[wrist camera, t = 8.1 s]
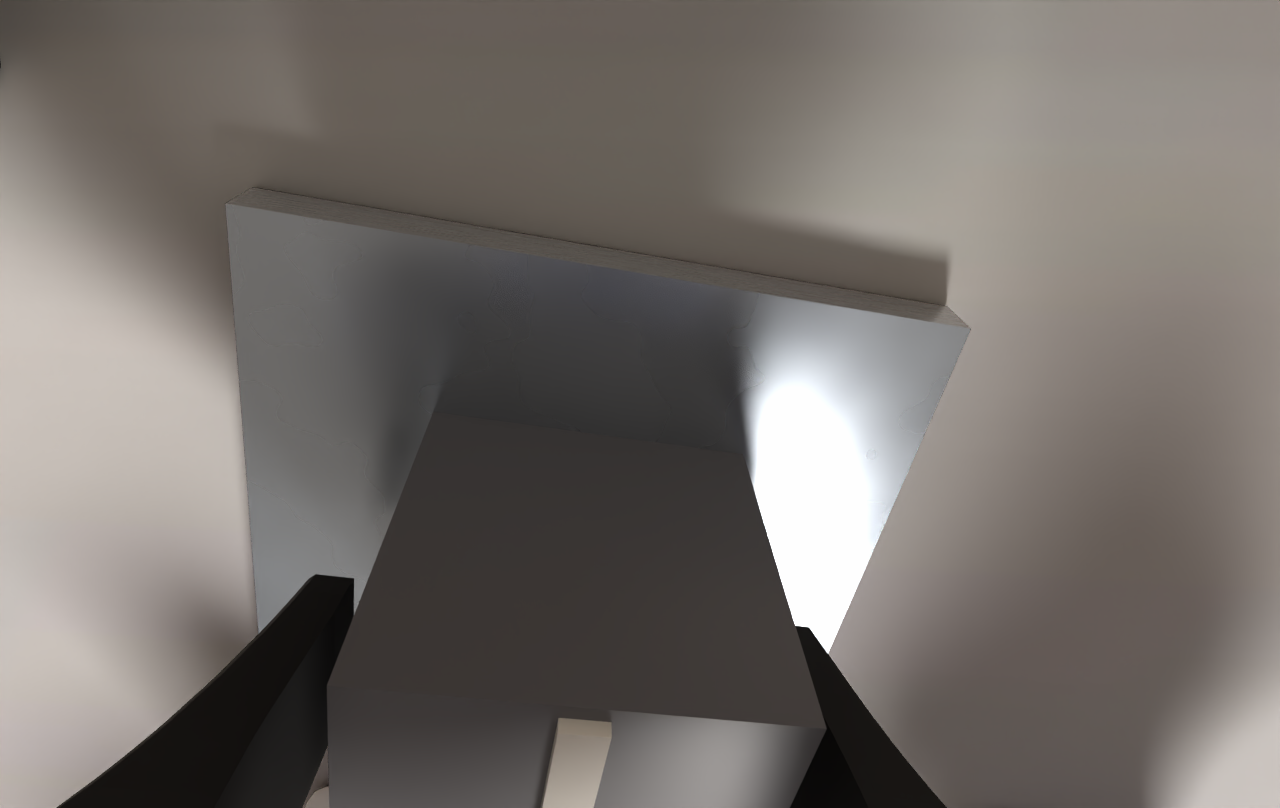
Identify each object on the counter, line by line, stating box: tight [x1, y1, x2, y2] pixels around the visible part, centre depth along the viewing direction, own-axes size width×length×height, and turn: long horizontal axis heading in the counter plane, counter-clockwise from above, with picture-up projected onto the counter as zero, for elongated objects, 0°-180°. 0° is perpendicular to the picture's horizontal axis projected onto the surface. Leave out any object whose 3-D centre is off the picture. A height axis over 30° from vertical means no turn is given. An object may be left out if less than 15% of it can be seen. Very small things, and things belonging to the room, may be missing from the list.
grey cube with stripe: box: [327, 412, 827, 808], centre depth 12 cm, size 6×6×6 cm
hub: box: [225, 187, 971, 653], centre depth 13 cm, size 12×12×5 cm
